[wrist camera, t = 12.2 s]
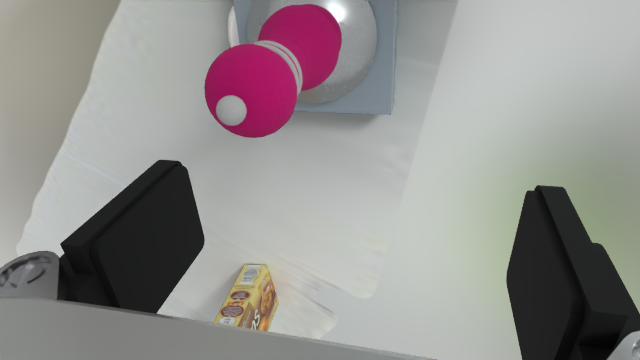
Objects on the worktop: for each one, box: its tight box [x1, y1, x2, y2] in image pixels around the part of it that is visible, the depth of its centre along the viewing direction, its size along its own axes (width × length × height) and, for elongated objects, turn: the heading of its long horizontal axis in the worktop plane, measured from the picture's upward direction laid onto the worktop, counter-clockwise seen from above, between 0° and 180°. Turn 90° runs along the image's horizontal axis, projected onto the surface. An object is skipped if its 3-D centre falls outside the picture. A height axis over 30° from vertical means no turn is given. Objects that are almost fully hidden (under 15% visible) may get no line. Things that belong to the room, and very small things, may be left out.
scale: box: [228, 0, 398, 115], centre depth 43 cm, size 17×16×6 cm
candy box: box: [214, 264, 279, 331], centre depth 61 cm, size 9×4×15 cm, turn 11°
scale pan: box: [247, 0, 377, 103], centre depth 41 cm, size 13×13×1 cm
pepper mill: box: [205, 4, 342, 138], centre depth 32 cm, size 7×7×20 cm
